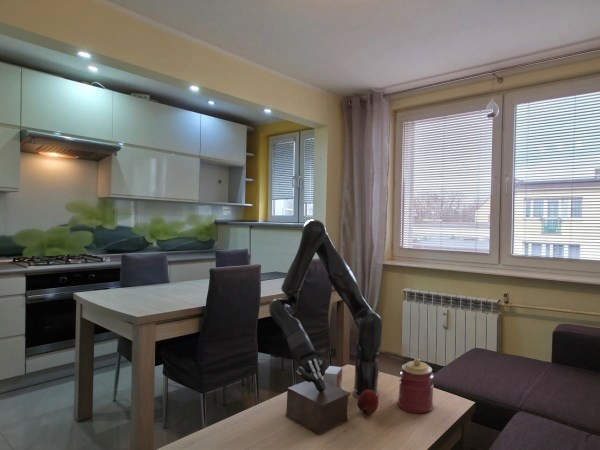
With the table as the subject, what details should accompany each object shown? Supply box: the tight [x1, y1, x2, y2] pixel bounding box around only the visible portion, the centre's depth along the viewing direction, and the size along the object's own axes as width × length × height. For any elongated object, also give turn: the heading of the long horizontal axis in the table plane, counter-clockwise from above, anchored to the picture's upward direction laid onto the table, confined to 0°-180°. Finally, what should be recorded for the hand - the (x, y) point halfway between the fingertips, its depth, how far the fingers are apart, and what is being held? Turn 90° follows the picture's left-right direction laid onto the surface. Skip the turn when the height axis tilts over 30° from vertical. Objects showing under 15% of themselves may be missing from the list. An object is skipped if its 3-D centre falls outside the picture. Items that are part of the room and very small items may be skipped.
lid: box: [287, 380, 351, 407], centre depth 130 cm, size 18×13×1 cm
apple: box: [356, 390, 379, 415], centre depth 136 cm, size 7×8×8 cm
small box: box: [322, 365, 343, 389], centre depth 147 cm, size 8×6×10 cm
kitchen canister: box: [397, 358, 435, 414], centre depth 143 cm, size 13×13×18 cm
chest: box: [285, 390, 349, 435], centre depth 130 cm, size 17×13×9 cm
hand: (322, 390), depth 129 cm, fingers closed
